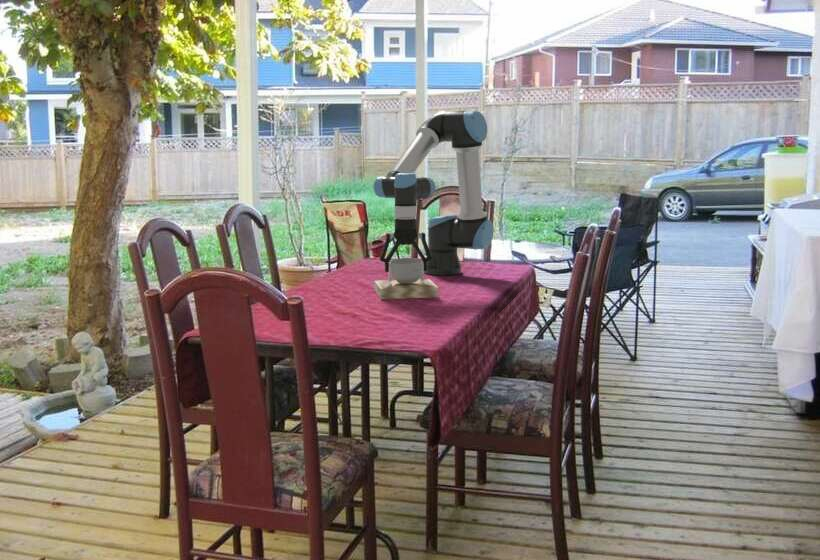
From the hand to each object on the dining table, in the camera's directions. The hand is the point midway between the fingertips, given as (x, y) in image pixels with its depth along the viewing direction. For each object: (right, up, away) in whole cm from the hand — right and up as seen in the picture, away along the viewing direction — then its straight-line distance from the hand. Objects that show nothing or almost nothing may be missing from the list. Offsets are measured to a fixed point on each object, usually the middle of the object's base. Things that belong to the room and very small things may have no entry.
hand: (405, 280), depth 309 cm
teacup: (0, 0, 0) cm, 1 cm away
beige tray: (0, -4, +1) cm, 5 cm away
